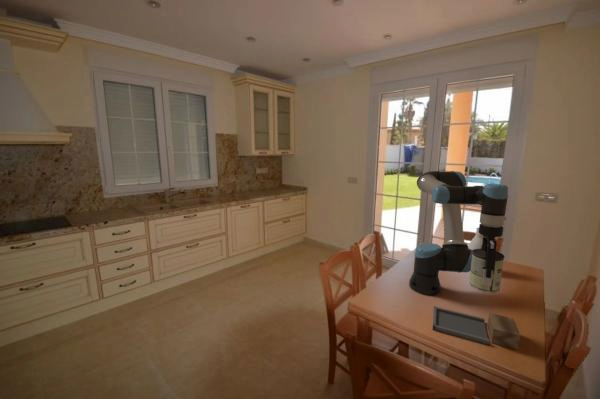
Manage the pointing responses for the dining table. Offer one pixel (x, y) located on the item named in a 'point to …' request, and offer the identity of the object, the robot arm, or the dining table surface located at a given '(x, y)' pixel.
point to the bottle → (476, 241)
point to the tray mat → (460, 325)
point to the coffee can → (478, 271)
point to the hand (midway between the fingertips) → (484, 279)
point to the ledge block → (503, 331)
